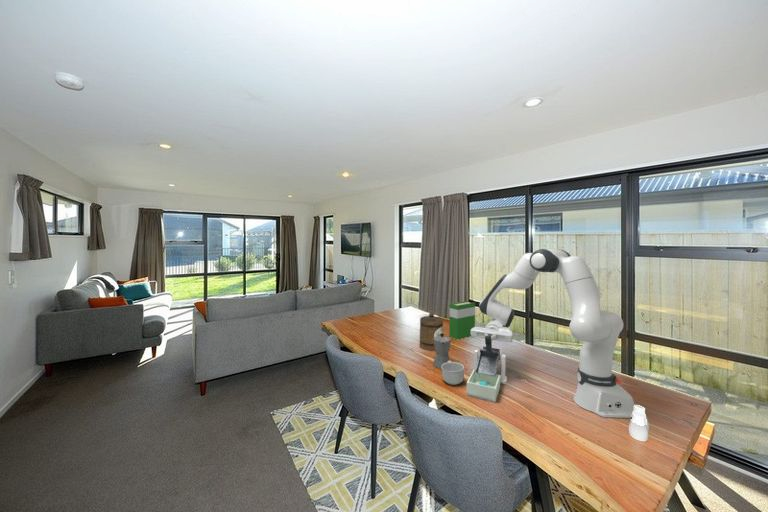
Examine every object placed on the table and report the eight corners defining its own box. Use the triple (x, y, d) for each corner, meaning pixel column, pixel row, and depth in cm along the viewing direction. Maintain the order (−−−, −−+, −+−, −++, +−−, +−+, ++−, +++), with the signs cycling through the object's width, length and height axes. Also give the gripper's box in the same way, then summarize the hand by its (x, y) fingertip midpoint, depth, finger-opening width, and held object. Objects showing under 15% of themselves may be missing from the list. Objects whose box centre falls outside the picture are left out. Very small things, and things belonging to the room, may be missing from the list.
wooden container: (441, 351, 181) (441, 316, 180) (417, 349, 186) (417, 315, 185) (444, 343, 195) (444, 311, 194) (422, 341, 200) (422, 309, 199)
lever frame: (507, 378, 146) (507, 354, 145) (505, 384, 141) (506, 358, 140) (474, 371, 153) (474, 348, 153) (471, 376, 148) (472, 352, 148)
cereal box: (466, 332, 218) (467, 300, 216) (474, 335, 211) (475, 302, 210) (449, 337, 208) (449, 303, 207) (457, 340, 202) (457, 305, 201)
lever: (502, 355, 150) (500, 330, 143) (497, 383, 136) (495, 357, 130) (481, 351, 155) (479, 327, 148) (475, 378, 141) (472, 353, 134)
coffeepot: (452, 371, 154) (452, 337, 153) (434, 370, 155) (434, 337, 154) (448, 359, 170) (448, 328, 169) (432, 358, 171) (432, 328, 170)
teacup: (464, 388, 137) (464, 371, 136) (441, 386, 139) (441, 369, 138) (462, 374, 150) (462, 359, 150) (441, 373, 152) (441, 358, 152)
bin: (500, 387, 137) (500, 375, 137) (495, 402, 125) (495, 388, 124) (473, 381, 143) (473, 369, 143) (466, 395, 131) (466, 382, 130)
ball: (487, 380, 134) (486, 382, 130) (489, 389, 133) (488, 392, 129) (478, 380, 135) (477, 383, 132) (480, 389, 135) (479, 392, 131)
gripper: (473, 322, 160) (467, 329, 148) (514, 327, 150) (511, 335, 138) (473, 333, 160) (467, 341, 148) (513, 339, 150) (511, 348, 138)
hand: (488, 339), depth 143 cm, fingers closed, pressing on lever
